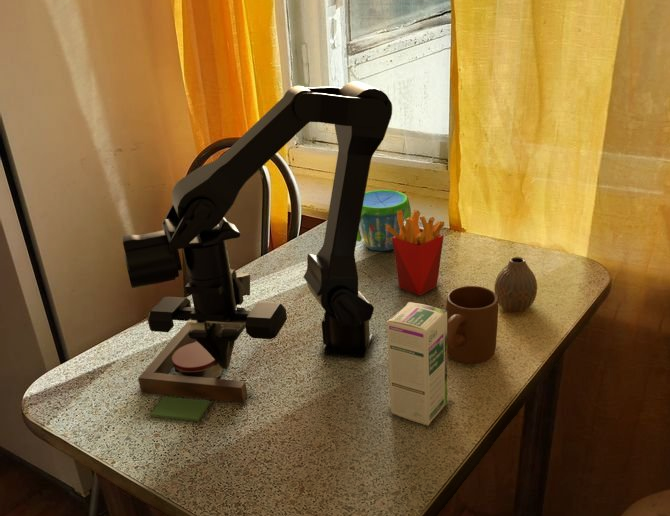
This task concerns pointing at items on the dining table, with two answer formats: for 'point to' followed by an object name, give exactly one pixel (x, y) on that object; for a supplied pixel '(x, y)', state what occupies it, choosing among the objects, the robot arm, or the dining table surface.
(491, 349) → the mug
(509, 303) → the vase
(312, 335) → the dining table surface
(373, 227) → the snack cup
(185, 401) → the green rag
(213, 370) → the tin
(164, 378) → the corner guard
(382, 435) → the dining table surface
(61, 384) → the dining table surface
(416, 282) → the french fries
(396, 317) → the syrup box
